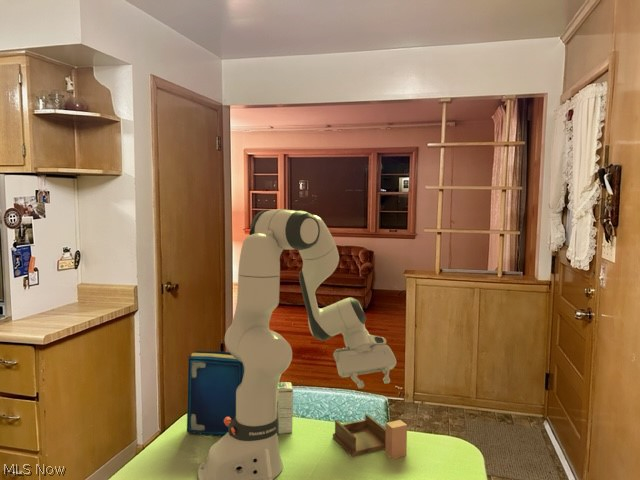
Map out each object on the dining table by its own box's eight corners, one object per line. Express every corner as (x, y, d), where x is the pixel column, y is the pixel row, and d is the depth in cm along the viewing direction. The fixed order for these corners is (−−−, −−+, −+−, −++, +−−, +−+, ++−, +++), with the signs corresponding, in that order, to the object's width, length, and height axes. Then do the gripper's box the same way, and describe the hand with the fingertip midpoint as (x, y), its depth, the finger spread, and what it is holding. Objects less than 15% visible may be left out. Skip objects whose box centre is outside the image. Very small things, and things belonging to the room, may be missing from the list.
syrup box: (273, 426, 146) (273, 382, 146) (291, 424, 148) (291, 381, 147) (274, 434, 141) (274, 389, 140) (293, 432, 142) (293, 388, 141)
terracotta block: (391, 458, 127) (392, 428, 127) (385, 453, 130) (385, 422, 130) (406, 455, 129) (407, 424, 129) (399, 449, 132) (400, 419, 132)
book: (259, 428, 145) (259, 352, 143) (253, 439, 138) (253, 359, 136) (194, 424, 147) (193, 349, 146) (185, 435, 140) (185, 356, 138)
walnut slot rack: (351, 456, 128) (351, 438, 128) (332, 437, 139) (333, 420, 139) (389, 447, 134) (389, 430, 133) (369, 429, 145) (369, 413, 144)
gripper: (334, 344, 142) (348, 385, 134) (389, 337, 151) (405, 375, 142) (328, 354, 147) (341, 394, 138) (382, 346, 155) (397, 384, 147)
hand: (374, 385), depth 140 cm, fingers open, 8 cm apart
